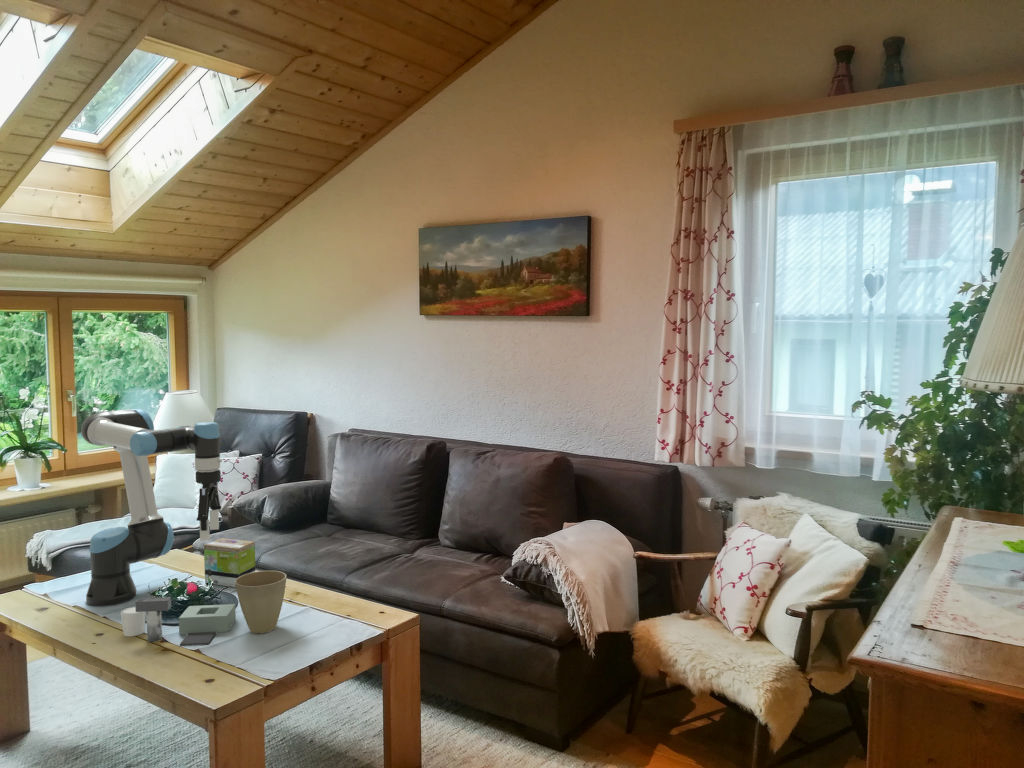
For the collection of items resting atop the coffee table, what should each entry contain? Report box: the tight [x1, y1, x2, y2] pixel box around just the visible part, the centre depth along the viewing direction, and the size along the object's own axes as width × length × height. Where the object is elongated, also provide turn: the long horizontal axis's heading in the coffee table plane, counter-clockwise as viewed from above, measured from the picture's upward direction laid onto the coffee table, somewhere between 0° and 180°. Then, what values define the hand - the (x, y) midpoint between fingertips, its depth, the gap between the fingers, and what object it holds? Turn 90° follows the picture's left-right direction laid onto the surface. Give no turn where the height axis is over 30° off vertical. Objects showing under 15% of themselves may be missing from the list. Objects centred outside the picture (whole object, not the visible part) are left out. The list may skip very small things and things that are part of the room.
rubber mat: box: [179, 632, 217, 647], centre depth 221 cm, size 8×8×1 cm
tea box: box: [203, 537, 256, 588], centre depth 272 cm, size 15×10×15 cm
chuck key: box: [134, 596, 172, 643], centre depth 221 cm, size 9×4×12 cm, turn 97°
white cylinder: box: [120, 606, 146, 637], centre depth 226 cm, size 7×7×7 cm
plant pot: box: [235, 570, 287, 634], centre depth 228 cm, size 15×15×16 cm
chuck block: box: [178, 603, 237, 635], centre depth 230 cm, size 14×10×5 cm
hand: (209, 534), depth 244 cm, fingers open, 13 cm apart
